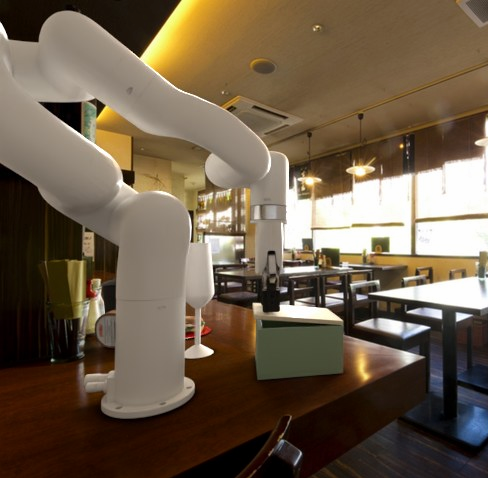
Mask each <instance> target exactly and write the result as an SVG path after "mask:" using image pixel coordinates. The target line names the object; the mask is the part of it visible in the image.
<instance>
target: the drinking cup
mask: <svg viewBox="0 0 488 478" xmlns="http://www.w3.org/2000/svg"><path fill="white" fill-rule="evenodd" d="M100 286H102V296H103V297H102V298H103V309H104V314H105V313H107V312H109V311H112V310H116V277H114V278H110V279H108V280H106V281H104V282H102V283H101V284H100Z"/></svg>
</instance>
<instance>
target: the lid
mask: <svg viewBox="0 0 488 478" xmlns="http://www.w3.org/2000/svg"><path fill="white" fill-rule="evenodd" d="M262 290H264V287H263V288H262ZM251 306H252V314H253V319H254V320H256V319H258V320H273V321H288V322H304V323H319V324H334V325H343V326H344V320H343V319H341V318H340V316H338V315H337V314H335V313H333V312H332V310H330V309H329V308H327V307H316V306H315V307H313V306H302V305H288V304H287V305H286V304H280V311H279V312H266V313H264V312H263V310H262V305H261V302H252V305H251Z"/></svg>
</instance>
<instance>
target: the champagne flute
mask: <svg viewBox="0 0 488 478" xmlns="http://www.w3.org/2000/svg"><path fill="white" fill-rule="evenodd" d="M212 258H213V257H212V245H211V242H190V246H189V252H188V258H187V268H186V304H188V306H190V307H191V308H193V309H194V317H195V337H194V345H191V346H190V347H189V348H187V349H185V359H200V358H201V359H202V358H206V357H209V356H212V354H214V350H213V349H211V348H209V347H208V346H205V345H203V344H201V336H202V335H201V318H202V308H204V307H205V306H206V305H207V304H208V303H209V302H210V301H211V300H212V299H213V297H214V295H215V282H214V281H215V280H214V269H213V259H212Z"/></svg>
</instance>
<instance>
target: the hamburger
mask: <svg viewBox="0 0 488 478" xmlns="http://www.w3.org/2000/svg"><path fill="white" fill-rule="evenodd" d="M205 324H206V322H205V321H204V319H203V318H202V317H201V336H204V335H207V334H208V333H210V332H211V330H212V329H211V328H210V327H209V326H205ZM192 338H195V315H194V316H191V315H185V339H192Z"/></svg>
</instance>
